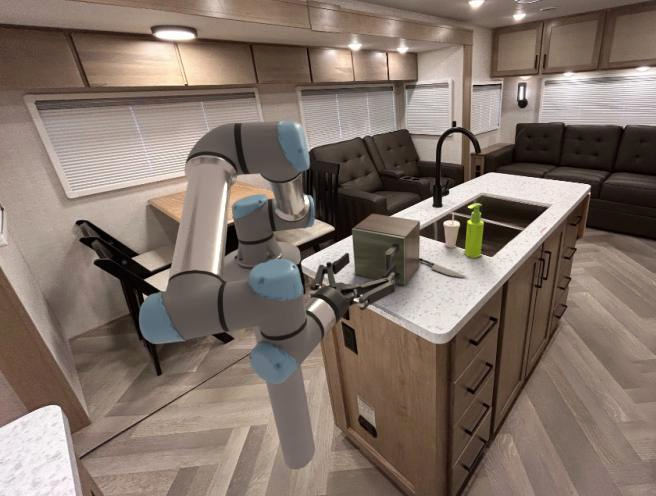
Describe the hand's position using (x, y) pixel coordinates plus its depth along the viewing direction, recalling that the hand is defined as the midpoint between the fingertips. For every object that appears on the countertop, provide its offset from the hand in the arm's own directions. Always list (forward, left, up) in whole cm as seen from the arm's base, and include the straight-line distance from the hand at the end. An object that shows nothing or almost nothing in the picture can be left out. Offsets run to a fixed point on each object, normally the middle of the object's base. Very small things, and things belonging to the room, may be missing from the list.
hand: (371, 262), depth 82 cm
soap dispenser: (+38, +30, -17) cm, 52 cm away
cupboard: (+6, +24, -17) cm, 30 cm away
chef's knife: (+24, +21, -16) cm, 36 cm away
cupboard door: (+1, +15, -17) cm, 23 cm away
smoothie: (+32, +38, -17) cm, 53 cm away
